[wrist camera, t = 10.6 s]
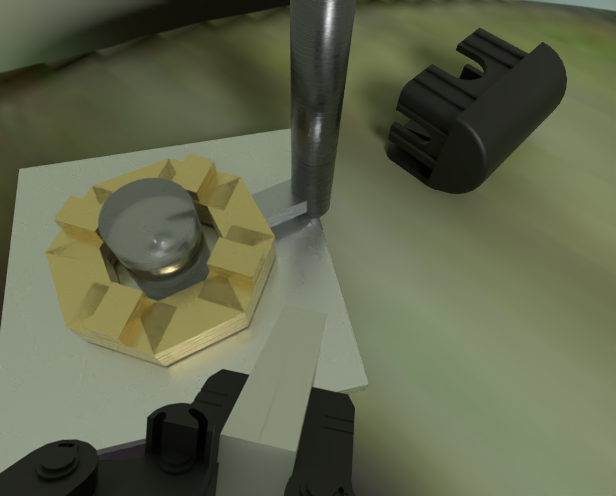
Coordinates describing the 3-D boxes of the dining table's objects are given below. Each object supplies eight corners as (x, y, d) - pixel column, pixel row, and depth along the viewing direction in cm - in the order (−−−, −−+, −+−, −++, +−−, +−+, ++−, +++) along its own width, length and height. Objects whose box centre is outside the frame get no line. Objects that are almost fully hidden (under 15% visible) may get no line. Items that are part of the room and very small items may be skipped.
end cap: (460, 217, 29) (503, 146, 23) (379, 159, 31) (399, 81, 25) (534, 140, 32) (588, 62, 27) (457, 93, 35) (491, 12, 29)
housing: (292, 143, 31) (292, 66, 26) (364, 390, 23) (387, 357, 17) (31, 183, 29) (-32, 108, 23) (3, 478, 20) (-110, 473, 15)
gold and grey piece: (100, 397, 21) (-240, 235, 7) (50, 226, 25) (-213, -60, 12) (374, 264, 25) (467, 7, 11) (287, 138, 29) (283, -148, 16)
